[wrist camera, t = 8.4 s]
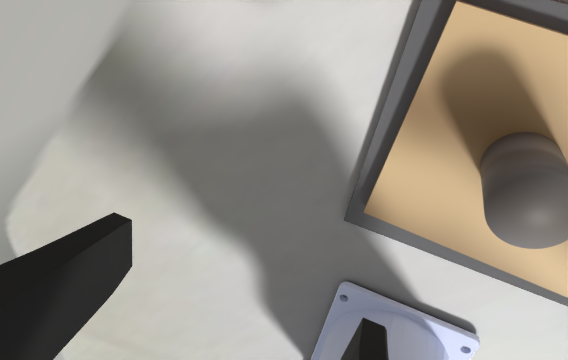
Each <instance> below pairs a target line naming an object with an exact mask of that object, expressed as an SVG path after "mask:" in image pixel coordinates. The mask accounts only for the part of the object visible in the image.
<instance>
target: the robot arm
mask: <svg viewBox="0 0 568 360" xmlns="http://www.w3.org/2000/svg"><path fill="white" fill-rule="evenodd" d="M131 267H132V220H131V219H128V218H126V217H124V216H121V215H119V214H116V213H112V214H110V215H108V216H105V217H103V218H101V219H99V220H97V221H95V222H93V223H91V224H89V225H87V226H85V227H83V228H81V229H79V230H77V231H75V232H72V233H70V234H68V235H66V236H64V237H62V238H60V239H58V240H56V241H54V242H51V243H49V244H47V245H45V246H43V247H41V248H38V249H36V250H34V251H32V252H30V253H27V254H25V255H22V256H20V257H18V258H15V259H13V260H11V261H8V262H6V263H3V264H1V265H0V360H53V359H54V358H55V357H56V356H57V354H58V353H59V352H60V351H61V350H62V349H63V348H64V347H65V346H66V345H67V343H68V342H69V341H70V340H71V339H72V338H73V337H74V336H75V335H76V334H77V333H78V331H79V330H80V329H81V328H82V327H83V326H84V325H85V324H86V323H87V322H88V321H89V319H90V318H91V317H92V316H93V315H94V314H95V313H96V312H97V311H98V309H99V308H100V307H101V306H102V305H103V304H104V303H105V302H106V301H107V299H108V298H109V297H110V296H111V295H112V294H113V292H114V291H115V290H116V288H117V287H118V285H119V284H120V283H121V281H122V280H123V278H124V277H125V276H126V274H127V273H128V271H129V270H130V268H131ZM342 295H346V296H347V297H344V296H342ZM463 346H466V347H469V348H465V347H463ZM479 346H480V340H479V337H478V336H477V335H475V334H473V333H471V332H469V331H466V330H464V329H461V328H459V327H456V326H454V325H452V324H449V323H447V322H444V321H442V320H440V319H437V318H435V317H432V316H430V315H427V314H425V313H423V312H420V311H418V310H415V309H413V308H411V307H408V306H406V305H403V304H401V303H398V302H396V301H394V300H391V299H389V298H386V297H384V296H382V295H379V294H377V293H374V292H372V291H369V290H367V289H365V288H362V287H360V286H357V285H355V284H353V283H350V282H342V283H341V284H340V285H339V288H338V290H337V293H336V295H335V298H334V301H333V303H332V306H331V308H330V311H329V313H328V316H327V319H326V321H325V324H324V326H323V329H322V331H321V334H320V337H319V339H318V342H317V344H316V347H315V349H314V352H313V355H312V357H311V360H470V359H471V358H472V356H473V355H474V354H475V352H476V351H477V350H478V348H479Z"/></svg>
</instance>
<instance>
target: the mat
mask: <svg viewBox="0 0 568 360" xmlns="http://www.w3.org/2000/svg"><path fill="white" fill-rule="evenodd" d="M459 1H463V2H466V3H469V4H472V5H475V6H479V7H482V8H485V9H488V10H491V11H495V12H498V13H501V14H504V15H507V16H511V17H514V18H517V19H520V20H523V21H527V22H530V23H533V24H536V25H539V26H543V27H546V28H549V29H552V30H555V31H559V32H562V33H565V34H568V4H566V3H562V2H558V1H554V0H459ZM455 2H456V0H421V3H420V6H419V9H418V12H417V15H416V17H415V20H414V23H413V26H412V29H411V32H410V34H409V37H408V40H407V43H406V46H405V49H404V51H403V54H402V57H401V60H400V63H399V65H398V68H397V71H396V74H395V77H394V80H393V82H392V85H391V88H390V91H389V94H388V97H387V99H386V102H385V105H384V108H383V111H382V114H381V116H380V119H379V122H378V125H377V128H376V131H375V133H374V136H373V139H372V142H371V145H370V147H369V150H368V153H367V156H366V159H365V162H364V164H363V167H362V170H361V173H360V176H359V179H358V181H357V184H356V187H355V190H354V193H353V196H352V198H351V201H350V204H349V207H348V210H347V213H346V215H345V218H344V220H345V221H347V222H350V223H352V224H355V225H358V226H360V227H363V228H365V229H368V230H371V231H373V232H376V233H378V234H381V235H384V236H386V237H389V238H391V239H394V240H397V241H399V242H402V243H404V244H407V245H410V246H412V247H415V248H417V249H420V250H423V251H425V252H428V253H430V254H433V255H436V256H438V257H441V258H443V259H446V260H449V261H451V262H454V263H456V264H459V265H462V266H464V267H467V268H469V269H472V270H475V271H477V272H480V273H482V274H485V275H488V276H490V277H493V278H495V279H498V280H501V281H503V282H506V283H508V284H511V285H514V286H516V287H519V288H521V289H524V290H527V291H529V292H532V293H534V294H537V295H540V296H542V297H545V298H547V299H550V300H553V301H555V302H558V303H560V304H563V305H566V306H568V298H567V297H565V296H562V295H560V294H558V293H555V292H553V291H550V290H548V289H546V288H543V287H541V286H538V285H536V284H534V283H531V282H529V281H527V280H524V279H522V278H519V277H517V276H515V275H512V274H510V273H507V272H505V271H503V270H500V269H498V268H495V267H493V266H491V265H488V264H486V263H483V262H481V261H479V260H476V259H474V258H471V257H469V256H467V255H464V254H462V253H459V252H457V251H455V250H452V249H450V248H447V247H445V246H443V245H440V244H438V243H436V242H433V241H431V240H428V239H426V238H424V237H421V236H419V235H416V234H414V233H412V232H409V231H407V230H404V229H402V228H400V227H397V226H395V225H392V224H390V223H388V222H385V221H383V220H380V219H378V218H376V217H373V216H371V215H368V214H366V213H364V209H365V207H366V204H367V202H368V200H369V197H370V195H371V193H372V191H373V188H374V186H375V184H376V182H377V179H378V177H379V175H380V172H381V170H382V168H383V166H384V163H385V161H386V159H387V157H388V154H389V152H390V150H391V148H392V145H393V143H394V141H395V138H396V136H397V134H398V132H399V129H400V127H401V125H402V123H403V120H404V118H405V116H406V114H407V111H408V109H409V107H410V104H411V102H412V100H413V98H414V95H415V93H416V91H417V89H418V86H419V84H420V82H421V80H422V77H423V75H424V73H425V70H426V68H427V66H428V64H429V61H430V59H431V57H432V55H433V52H434V50H435V48H436V45H437V43H438V41H439V39H440V36H441V34H442V32H443V30H444V27H445V25H446V23H447V21H448V18H449V16H450V14H451V11H452V9H453V7H454V5H455Z"/></svg>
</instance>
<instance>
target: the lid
mask: <svg viewBox="0 0 568 360" xmlns="http://www.w3.org/2000/svg"><path fill="white" fill-rule="evenodd" d="M364 213H366V214H368V215H371V216H373V217H376V218H378V219H380V220H383V221H385V222H388V223H390V224H392V225H395V226H397V227H400V228H402V229H404V230H407V231H409V232H412V233H414V234H416V235H419V236H421V237H424V238H426V239H428V240H431V241H433V242H436V243H438V244H440V245H443V246H445V247H447V248H450V249H452V250H455V251H457V252H459V253H462V254H464V255H467V256H469V257H471V258H474V259H476V260H479V261H481V262H483V263H486V264H488V265H491V266H493V267H495V268H498V269H500V270H503V271H505V272H507V273H510V274H512V275H515V276H517V277H519V278H522V279H524V280H527V281H529V282H531V283H534V284H536V285H538V286H541V287H543V288H546V289H548V290H550V291H553V292H555V293H558V294H560V295H562V296H565V297H567V298H568V34H565V33H562V32H559V31H555V30H552V29H549V28H546V27H543V26H539V25H536V24H533V23H530V22H527V21H523V20H520V19H517V18H514V17H511V16H507V15H504V14H501V13H498V12H495V11H491V10H488V9H485V8H482V7H479V6H475V5H472V4H469V3H466V2H463V1H459V0H456V2H455V5H454V7H453V9H452V11H451V14H450V16H449V18H448V21H447V23H446V25H445V27H444V30H443V32H442V34H441V36H440V39H439V41H438V43H437V45H436V48H435V50H434V52H433V55H432V57H431V59H430V61H429V64H428V66H427V68H426V70H425V73H424V75H423V77H422V80H421V82H420V84H419V86H418V89H417V91H416V93H415V95H414V98H413V100H412V102H411V104H410V107H409V109H408V111H407V114H406V116H405V118H404V120H403V123H402V125H401V127H400V129H399V132H398V134H397V136H396V138H395V141H394V143H393V145H392V148H391V150H390V152H389V154H388V157H387V159H386V161H385V163H384V166H383V168H382V170H381V172H380V175H379V177H378V179H377V182H376V184H375V186H374V188H373V191H372V193H371V195H370V197H369V200H368V202H367V204H366V207H365V209H364Z"/></svg>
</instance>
